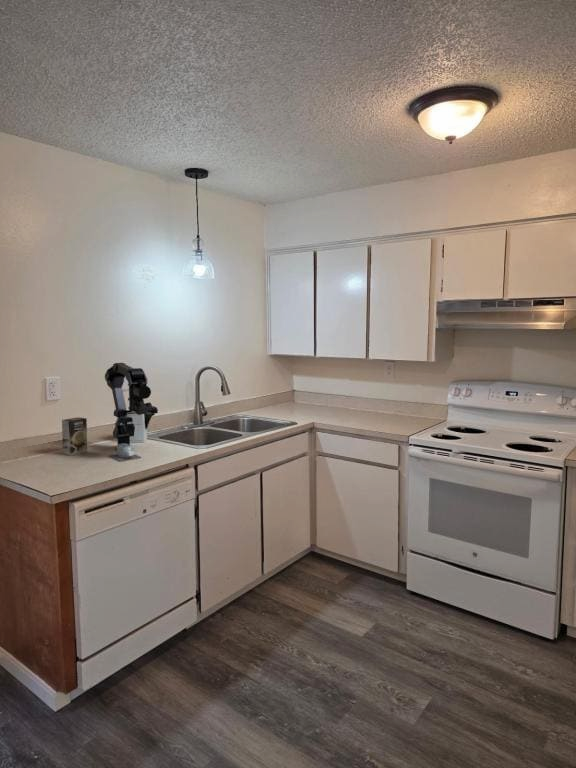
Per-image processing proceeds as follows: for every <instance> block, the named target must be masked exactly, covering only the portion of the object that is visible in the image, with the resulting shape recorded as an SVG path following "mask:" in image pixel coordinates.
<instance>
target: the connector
mask: <svg viewBox="0 0 576 768" xmlns="http://www.w3.org/2000/svg"><path fill="white" fill-rule="evenodd" d="M116 445H117V446H116V448H117V450H116V451H117V453H116V454H117V456H119V457H121V458H123V459H129V458H132V455H134V454H135V452H134V451H133V449H132V448H133V445H131V444H130V445H128V444H125V443H122V444H118V443H117V444H116Z"/></svg>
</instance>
